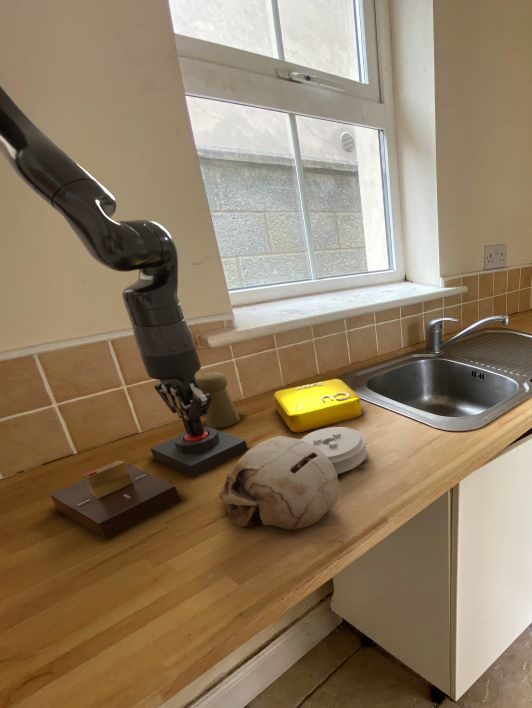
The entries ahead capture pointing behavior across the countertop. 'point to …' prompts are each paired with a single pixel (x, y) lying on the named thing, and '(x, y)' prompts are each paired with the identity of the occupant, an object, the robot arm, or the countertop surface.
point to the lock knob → (108, 479)
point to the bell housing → (199, 451)
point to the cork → (218, 400)
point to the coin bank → (280, 485)
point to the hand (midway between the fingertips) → (196, 434)
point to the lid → (339, 446)
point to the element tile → (317, 405)
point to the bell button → (191, 439)
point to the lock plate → (116, 503)
